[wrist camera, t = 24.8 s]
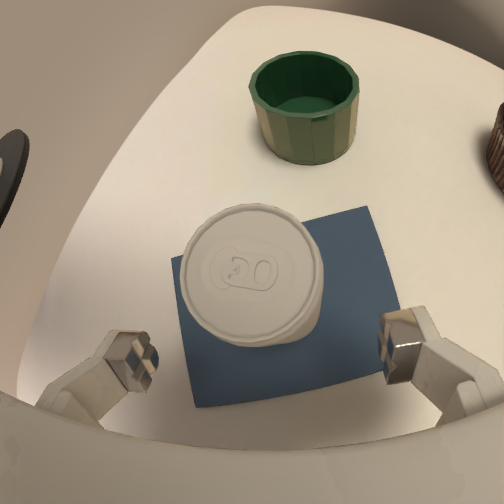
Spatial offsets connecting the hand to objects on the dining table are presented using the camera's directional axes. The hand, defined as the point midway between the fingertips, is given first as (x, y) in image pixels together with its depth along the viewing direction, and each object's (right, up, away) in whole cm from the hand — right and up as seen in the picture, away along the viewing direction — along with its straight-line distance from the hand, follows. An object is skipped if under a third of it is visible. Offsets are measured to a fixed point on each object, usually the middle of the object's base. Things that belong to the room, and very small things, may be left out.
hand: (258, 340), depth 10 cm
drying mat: (+2, -1, +11) cm, 12 cm away
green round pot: (+5, +14, +15) cm, 22 cm away
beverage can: (+2, -1, +11) cm, 11 cm away
